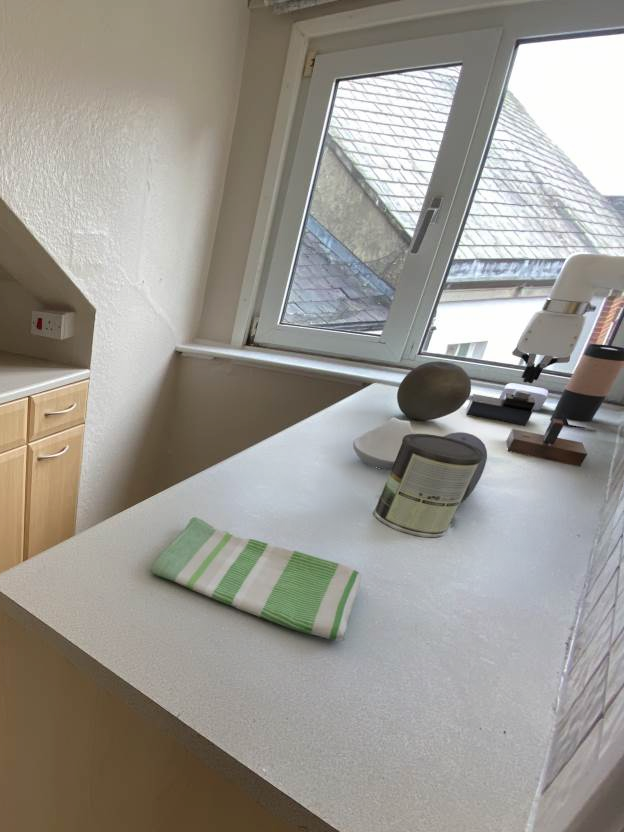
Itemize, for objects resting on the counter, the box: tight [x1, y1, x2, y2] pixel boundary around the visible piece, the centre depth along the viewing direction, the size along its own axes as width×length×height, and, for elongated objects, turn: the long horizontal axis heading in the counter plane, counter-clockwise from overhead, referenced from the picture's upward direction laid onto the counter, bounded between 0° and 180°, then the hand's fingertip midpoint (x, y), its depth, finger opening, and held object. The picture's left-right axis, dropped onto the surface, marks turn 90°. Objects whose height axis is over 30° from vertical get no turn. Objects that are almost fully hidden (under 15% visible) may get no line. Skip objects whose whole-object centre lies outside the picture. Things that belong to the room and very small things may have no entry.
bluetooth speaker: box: [442, 431, 488, 504], centre depth 100 cm, size 23×9×10 cm, turn 134°
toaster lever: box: [512, 390, 530, 400], centre depth 142 cm, size 3×3×2 cm
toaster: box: [465, 393, 535, 427], centre depth 145 cm, size 12×9×6 cm
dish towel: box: [149, 516, 362, 642], centre depth 75 cm, size 18×23×3 cm
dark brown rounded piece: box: [396, 360, 472, 421], centre depth 138 cm, size 14×14×15 cm
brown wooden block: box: [506, 428, 588, 468], centre depth 123 cm, size 12×9×3 cm
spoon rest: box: [352, 417, 414, 471], centre depth 116 cm, size 24×12×7 cm, turn 140°
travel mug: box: [549, 343, 624, 429], centre depth 139 cm, size 8×8×20 cm
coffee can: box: [373, 433, 484, 538], centre depth 89 cm, size 10×10×14 cm
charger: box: [499, 382, 549, 411], centre depth 159 cm, size 5×9×15 cm
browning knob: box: [543, 418, 565, 444], centre depth 121 cm, size 4×2×5 cm, turn 139°
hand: (527, 381), depth 140 cm, fingers closed
